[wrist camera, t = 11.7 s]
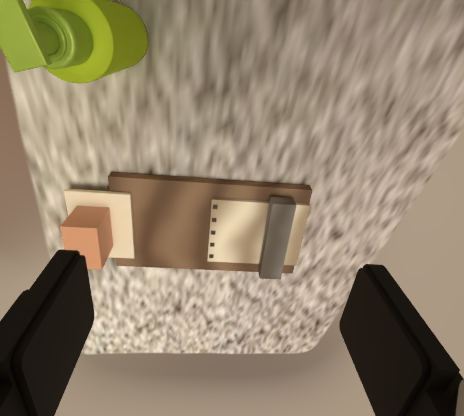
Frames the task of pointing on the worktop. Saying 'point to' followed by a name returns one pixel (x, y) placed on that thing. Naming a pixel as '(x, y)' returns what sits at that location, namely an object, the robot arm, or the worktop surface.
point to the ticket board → (214, 223)
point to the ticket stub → (99, 225)
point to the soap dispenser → (71, 37)
